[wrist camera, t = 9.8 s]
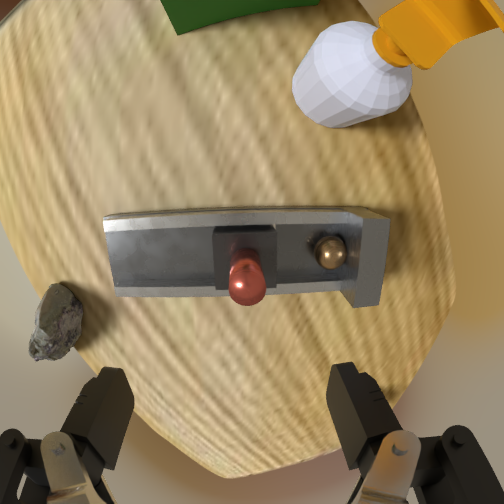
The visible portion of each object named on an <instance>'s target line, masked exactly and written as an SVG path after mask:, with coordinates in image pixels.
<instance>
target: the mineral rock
mask: <svg viewBox="0 0 504 504" xmlns="http://www.w3.org/2000/svg"><path fill="white" fill-rule="evenodd" d="M82 316H83V310H82V304H81V302H80V301H78V300H77V299H76V298H75V297H74V295H73V294H72V292H71V291H70V290H69V289H68V288H66V287H64V286H62V285H60V284H58V283H56V284H51V285H50V286H49V289H48V290H47V291H46V293H45V295H44V296H43V298H42V300H41V302H40V304H39V306H38V308H37V310H36V313H35V328H34V331H33V333H32V335H31V339H30V342H29V354H30V356H31V357H32V358H34V359H35V361H39V360H43V359H47V360H53V361H55V360H57V359H61V358H62V357H64V356H65V355H66V354H67V352H69V351H70V348H71V347H73V346H74V345H75V343H76V341H77V340H78V338H79V337H80V335H81V332H82V330H81V320H82Z"/></svg>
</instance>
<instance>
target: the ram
mask: <svg viewBox="0 0 504 504" xmlns="http://www.w3.org/2000/svg"><path fill="white" fill-rule="evenodd" d="M212 245H213V261H214V275H215V289H216V290H229V294H230V296H231V298H232V299H233V300H234V301H235V302H236V303H238V304H240V305H244V306H251V305H254V304H257V303H258V302H260V301H261V300H262V299H263V297H264V296H265V293H266V288H277V231H276V230H275V228H274V226H273V225H244V226H215V228H214V230H213V233H212Z"/></svg>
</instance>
